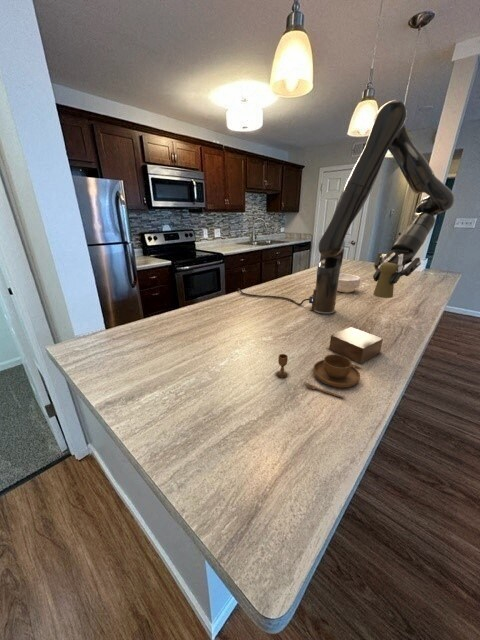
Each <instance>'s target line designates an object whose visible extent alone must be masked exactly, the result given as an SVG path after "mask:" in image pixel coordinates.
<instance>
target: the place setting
mask: <svg viewBox="0 0 480 640" xmlns="http://www.w3.org/2000/svg"><path fill="white" fill-rule="evenodd" d="M277 361H278V365H279V366H280V369H279V371H277V372H276V376H277V377H279V378H281V379H283V378H287V377H288V373H287V372H286V371H285V366H286V365H287V364H288V361H289V357H288V355H287V354H286V353H280V354H279V355H278V360H277ZM357 368H359V366H358V365H356V364H353V363H352V360H351V359H349V358H347V357H345V356H343V355H341V354H328V355H326V356H325V357H324V358H323V359H322V360H319V361H317V362H315V363H314V365H313V369H312V371H313V374H314V376H315V377H316V378H317V379H318V380H319V381H321V382H322V383H323V384H326V385H328V386H331V387H336V388H349V387H353V386H355V385H356V384H357V383H358V382H359V381H360V379H361V373H360V372H359V369H357ZM303 385H304V386H305V387H307V388H309V389H311V390H317V391H321V392H323V393H326V394H329V395H331V396H335V397H338V398H341V399H343V398H344V397H343V396H341V395H340V394H339V395H338V394H336V393H333V392H331V391H329V390H325V389H322V388H319V387H316V386H314V385H312V384H310V383H309V382H307V381H304V383H303Z"/></svg>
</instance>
